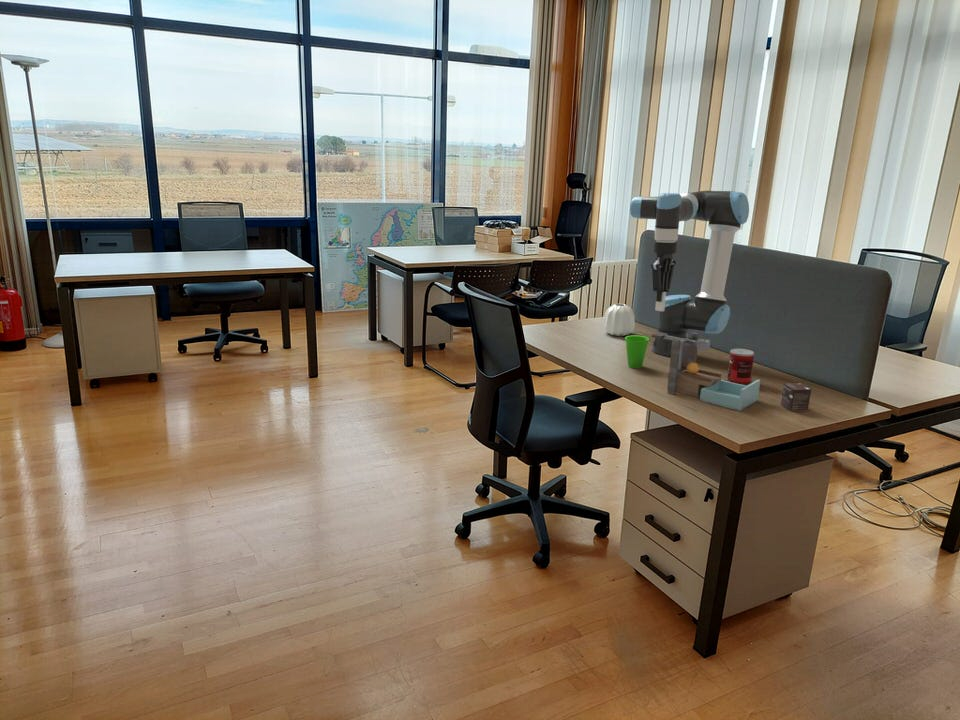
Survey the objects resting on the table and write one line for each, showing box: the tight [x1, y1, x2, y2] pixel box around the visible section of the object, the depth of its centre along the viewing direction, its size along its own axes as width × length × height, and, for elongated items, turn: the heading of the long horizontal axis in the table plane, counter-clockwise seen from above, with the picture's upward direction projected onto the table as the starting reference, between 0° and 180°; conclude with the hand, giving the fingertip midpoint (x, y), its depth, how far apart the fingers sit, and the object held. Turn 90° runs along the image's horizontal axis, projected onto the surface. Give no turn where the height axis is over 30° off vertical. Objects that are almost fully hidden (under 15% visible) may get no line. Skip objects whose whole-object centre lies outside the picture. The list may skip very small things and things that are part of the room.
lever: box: [651, 331, 711, 372], centre depth 232 cm, size 11×19×12 cm, turn 47°
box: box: [780, 382, 812, 412], centre depth 216 cm, size 6×6×7 cm
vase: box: [602, 303, 636, 337], centre depth 304 cm, size 14×14×13 cm
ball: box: [686, 362, 700, 374], centre depth 230 cm, size 4×4×4 cm
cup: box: [624, 334, 650, 369], centre depth 257 cm, size 9×9×11 cm
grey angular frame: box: [667, 331, 723, 398], centre depth 229 cm, size 14×15×18 cm
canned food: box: [727, 348, 755, 385], centre depth 241 cm, size 8×8×11 cm
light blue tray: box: [699, 379, 761, 412], centre depth 222 cm, size 14×14×7 cm
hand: (659, 310), depth 233 cm, fingers closed
